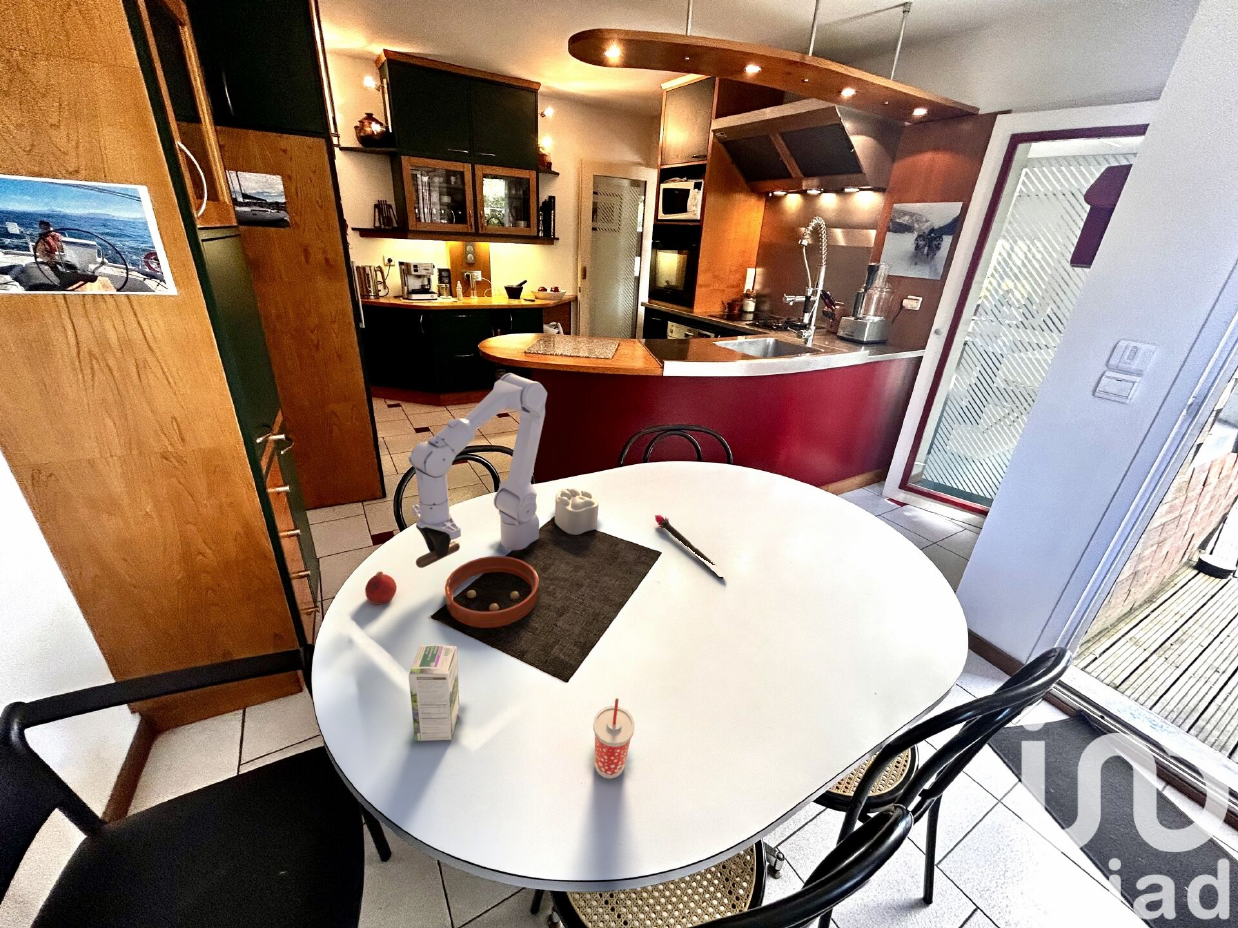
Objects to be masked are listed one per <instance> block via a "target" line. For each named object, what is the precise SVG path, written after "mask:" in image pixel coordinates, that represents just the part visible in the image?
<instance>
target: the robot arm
mask: <svg viewBox="0 0 1238 928" xmlns="http://www.w3.org/2000/svg"><path fill="white" fill-rule="evenodd" d="M547 397H548V392H547V390H546V388H545V387H544V386H543V384H541V383H540V382H539V381H533V380H531V379H528V378H525V377H521V376H519V375H517V374H515V373H512V372H508V373H505V374H504V375H502V377H500V379H498V380H497V381H495V382H494V386H493V389H492V390H491V391H490V392H489V393H488V394H487V395H485V397H484V398H483V399H482V400H481V401H480V402H479V403H478V404H477V405H476V406H475V407H474V408H473V409H472V410H470V412H468V414H467V415H466V416H465V417H463V418H462V417H461V418H459V417H455V418H453V419H450V420H449V421H447V422H446V426H444V427H443V428H442V429H440V431H438V432H437V433H436V434H434V435H432V436H431V437H430V438H429V439H428V441H424V442H423V441H421V442H419V443H418V444H416V445H415V446H414V447H413V448H412V449H411V452H410V456H409V457H407V458H408V459H407V460H408V463H410V465H411V466H412V467H413V468H414V469H415V475H416V485H417V495H418V503H416V504H414V505H412V506H411V511H412V512H411V513H412V515H413V516H416V517H417V519H418V521H415V523H416V524H415V527H416V529H417V530H418V531H419V532H420V534H421V536H422V537H423V540H424V542H425V544H426V547H427V549H428V551H429V552H431V551H434V550H435V552H436V555H437V557H438V558H439V559H440V558H442V557H444V556H446V555H447V554H448V549H449V545H450V543H451V542H452V541H454V540H457V539H459V538H460V537H462V532H461V530H462V529H461V527H459V526H458V525H457V523H456V521H455V520H454V518H453V516H452V514H450V502H449V501H450V500H449V489H448V488H449V487H448V472H449V471H450V470H451V467H452V465H453V462H454V460H456V457H457V455H459V454H460V453H461V452H462V451H463V450H465V448H466V447H468V446H469V445H470V444H471V443H472V442H474V441H475V439H476V432H477V430H478V429H480V428H481V427H482V426H484V425H485V424H486V423H488V422H489V421H490V420H492V419H493V418H494V417H496V416H497V415H498V414H500V413H501V412H502V411H504V410H513V411H514V410H515V411H516V413H517V414H518V415H519V417H520V418H519V421H518V426H517V427H518V428H517V432H516V437H515V442H514V446H513V451H512V457H511V462H510V465H509V466H510V468H509V471H508V477H507V478H506V479H505V480H502V481H500V483H499V488H498V490H497V491H496V493H495V495H494V497H493V506H494V508H495V509H496V510H497V511H498V515H499V517H500V519H499V523H500V546H502V548H503V549H506V550H508V551H520V550H523V549H526V548H527V547H528V546H530V544H532V543H533V542H536V541H537V540H538V539H540V520H539V517H538V515H537V513H536V512H537V507H538V505H537V494H538V493H537V492H536V490H535V488H534V487H533V485H532V483H531V481H532V478H533V472H534V468H535V465H536V464H535V463H536V458H537V455H538V450H539V444H540V439H541V435H542V431H543V426H544V421H545V417H546V402H547ZM446 557H447V556H446ZM444 558H445V557H444ZM442 559H443V558H442ZM440 560H441V559H440Z"/></svg>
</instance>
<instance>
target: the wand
mask: <svg viewBox="0 0 1238 928" xmlns="http://www.w3.org/2000/svg"><path fill="white" fill-rule="evenodd" d="M654 520H655V522H656V523H657V525H658V528H660V530H661V529H664V528H665V529H664V530H666V531H667V532H668V533H669V532H670V533H671V534H670V533H669V534H670V535H671V536H673V538H674V539H676V538H677V539H678V540H679V541H681V542H682V543H683V544H684V545H685V546H687V547H689V548H690V549H691V550H692V551H693V552H695V554H697V555H698V556H700V557H701V558H703V559H704V560H706V561H708V562H709V563H711V564H712V565H716V564H715V563H714V562H713V561H712V560H711V559H710V558H709V557H707V556H706V555H705V554H704V553H703V552H702V551H701V550H700V549H699V548H697V547H696V546H694V545H693V544H692V543H691V541H689V540H688V539H687V538H686V537H685V536H684V535H683V534H682V533H680V532H679V531H678V530H677V529H676V528H675V527H674V526H672V524H671V523H670V521H669V518H667V516H665V517H664V516H663V515H661V514H654ZM677 539H676V540H677ZM678 540H677V541H678ZM679 541H678V542H679ZM682 543H681V544H682ZM683 544H682V545H683ZM684 545H683V546H684ZM685 546H684V547H685ZM695 558H697V559H698V560H699V561H700V562H701V560H700V559H699V558H698V557H697V556H695ZM711 561H712V562H711ZM713 563H714V564H713ZM702 564H704V562H703V563H702ZM706 567H707V568H708V566H706Z"/></svg>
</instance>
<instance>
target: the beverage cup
mask: <svg viewBox="0 0 1238 928" xmlns="http://www.w3.org/2000/svg"><path fill="white" fill-rule="evenodd" d="M635 725H636V724H635V720H634V716H632V714H631V713H630V712H629V711H628V709H627V710H626V709H625V708H623V707H621V706H619V698H618V697H617V698H615V699H614V705H610V706H605V707H603V708H602V709H599V710H598V711H597V713H596V715H594V718H593V723H592V726H593V728H592V729H593V733H594V768H595V770H596V772H597V774H598V775H599V776H600V777H603V778H604V779H609V780H610V779H616V778H618V777H619V776H620V775H622V773H623V772H624V769H625V765H626V762H627V758H628V753H629V749H630V743H631V739H632V738H633V736H634V733H635V727H636V726H635Z"/></svg>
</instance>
